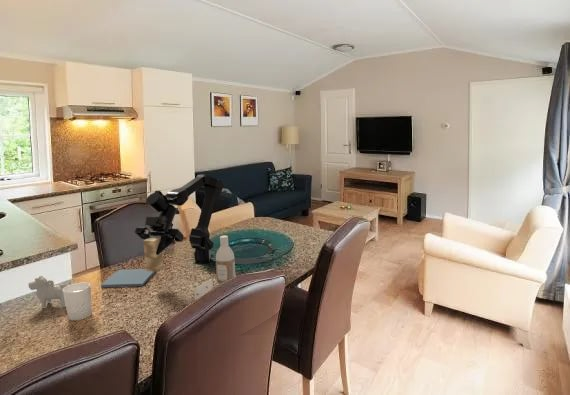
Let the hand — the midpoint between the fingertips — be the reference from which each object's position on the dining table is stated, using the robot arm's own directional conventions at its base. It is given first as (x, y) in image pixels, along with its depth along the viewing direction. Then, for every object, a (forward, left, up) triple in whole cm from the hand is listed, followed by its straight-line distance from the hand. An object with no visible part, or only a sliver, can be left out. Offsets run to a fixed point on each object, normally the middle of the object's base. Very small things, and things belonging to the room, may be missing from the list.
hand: (151, 254), depth 141 cm
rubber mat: (+13, -10, -14) cm, 22 cm away
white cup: (+17, +21, -14) cm, 30 cm away
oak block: (0, -1, -7) cm, 7 cm away
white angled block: (-23, +16, -14) cm, 31 cm away
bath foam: (-28, +1, -14) cm, 31 cm away
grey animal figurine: (+31, +13, -14) cm, 37 cm away
